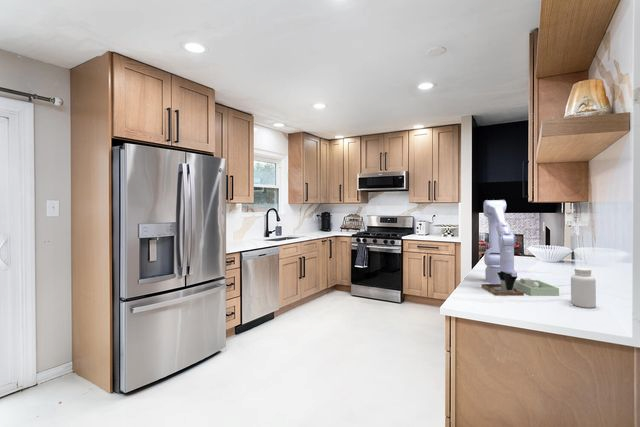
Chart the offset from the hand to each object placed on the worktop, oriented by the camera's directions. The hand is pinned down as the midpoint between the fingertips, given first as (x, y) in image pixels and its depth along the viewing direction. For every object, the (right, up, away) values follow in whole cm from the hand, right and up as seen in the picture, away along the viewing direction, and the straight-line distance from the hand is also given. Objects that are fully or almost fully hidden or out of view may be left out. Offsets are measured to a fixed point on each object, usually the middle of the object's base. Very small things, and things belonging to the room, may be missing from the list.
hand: (507, 288), depth 156 cm
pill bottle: (+19, -2, -22) cm, 29 cm away
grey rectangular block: (+11, -1, +2) cm, 11 cm away
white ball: (+16, -1, +4) cm, 17 cm away
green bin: (+12, -2, -1) cm, 13 cm away
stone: (0, -1, 0) cm, 1 cm away
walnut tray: (-2, -2, 0) cm, 3 cm away
